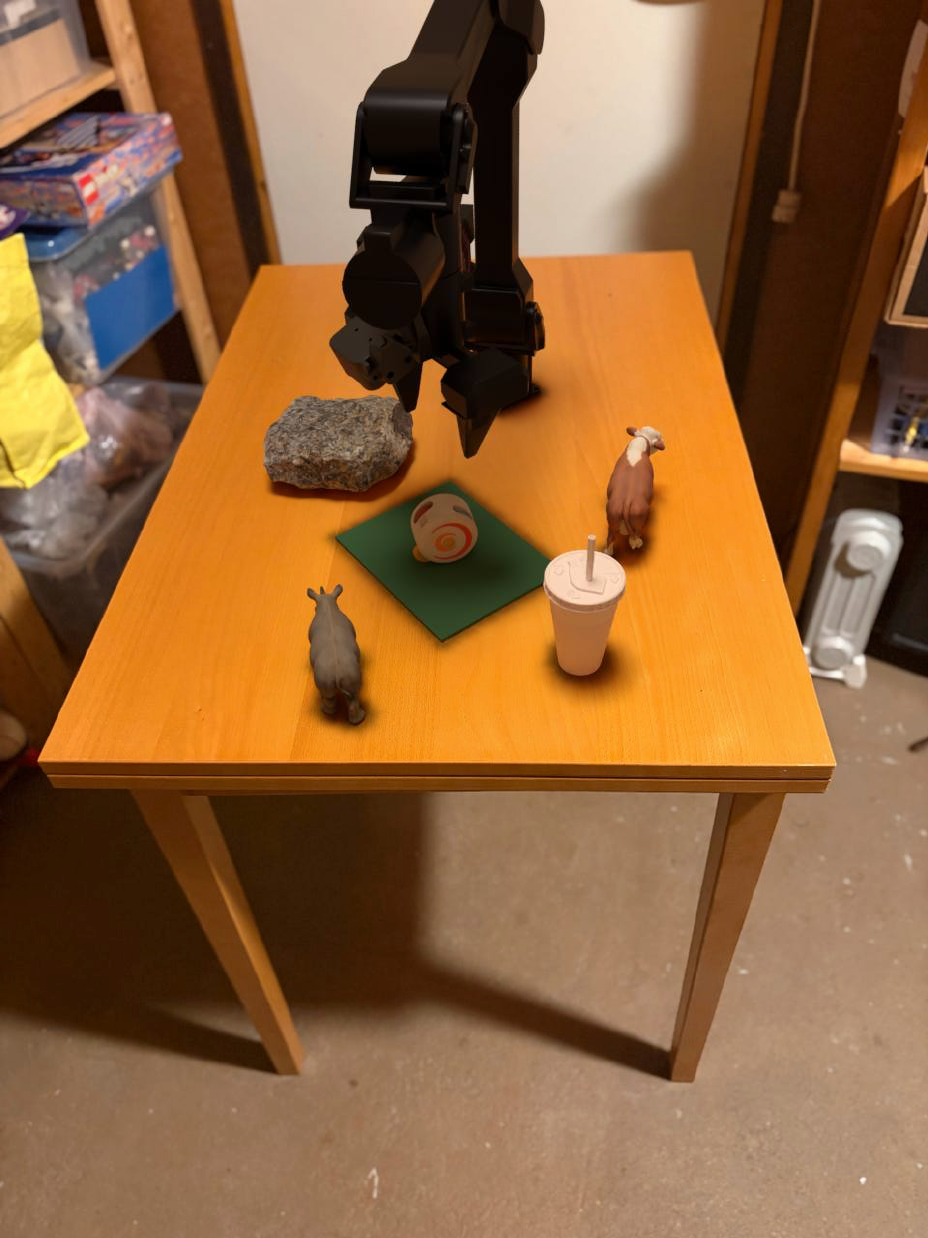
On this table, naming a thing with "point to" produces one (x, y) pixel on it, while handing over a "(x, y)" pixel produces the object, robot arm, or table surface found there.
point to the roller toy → (443, 529)
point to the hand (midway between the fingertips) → (439, 432)
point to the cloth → (447, 566)
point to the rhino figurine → (334, 654)
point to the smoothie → (583, 605)
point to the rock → (338, 442)
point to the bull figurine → (632, 487)
